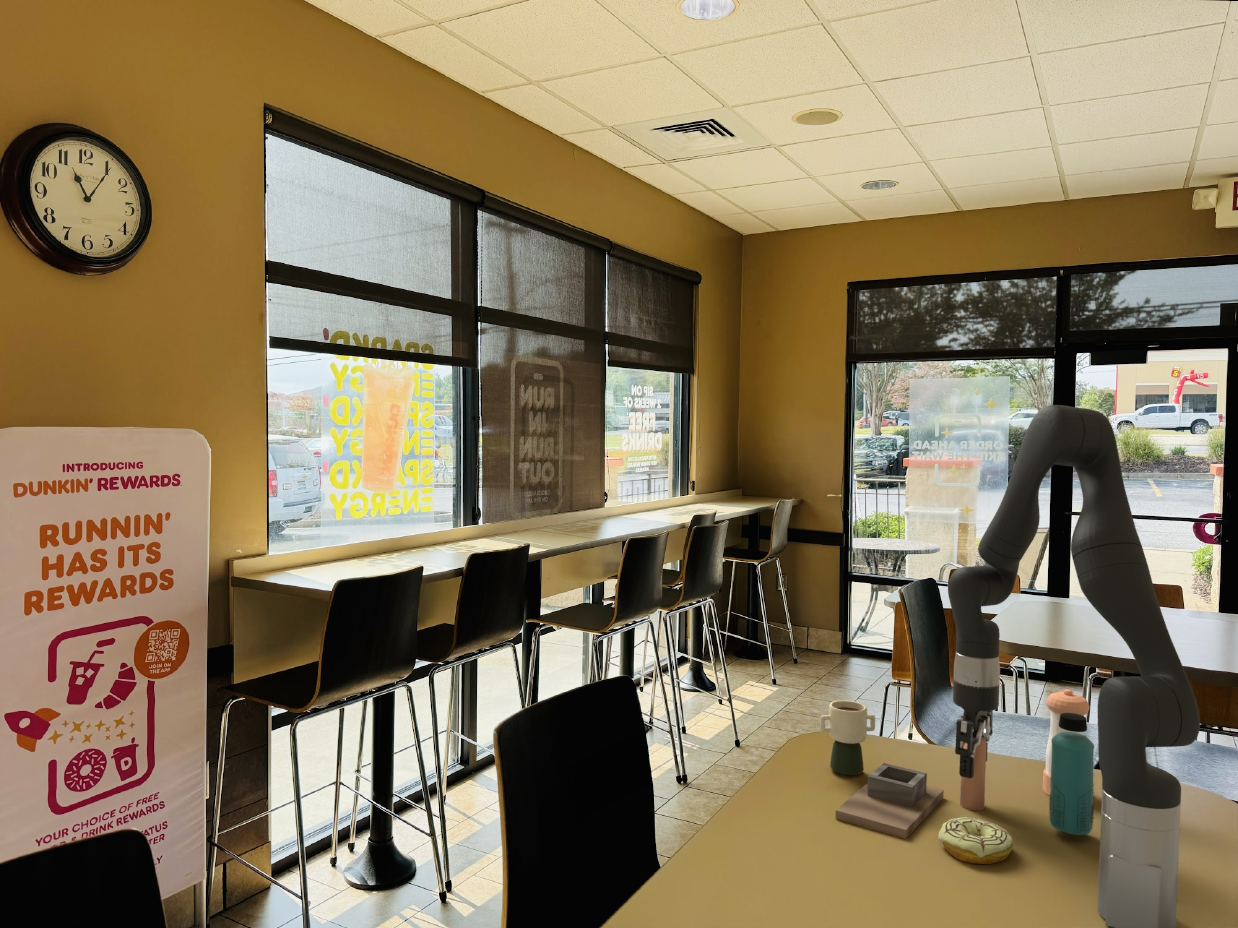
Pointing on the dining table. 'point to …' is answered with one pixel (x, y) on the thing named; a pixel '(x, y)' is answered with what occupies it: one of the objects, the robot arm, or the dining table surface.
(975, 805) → the peg
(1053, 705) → the pepper shaker
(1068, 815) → the beverage bottle
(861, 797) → the holder
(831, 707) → the character mug
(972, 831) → the decorated donut
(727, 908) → the dining table surface
